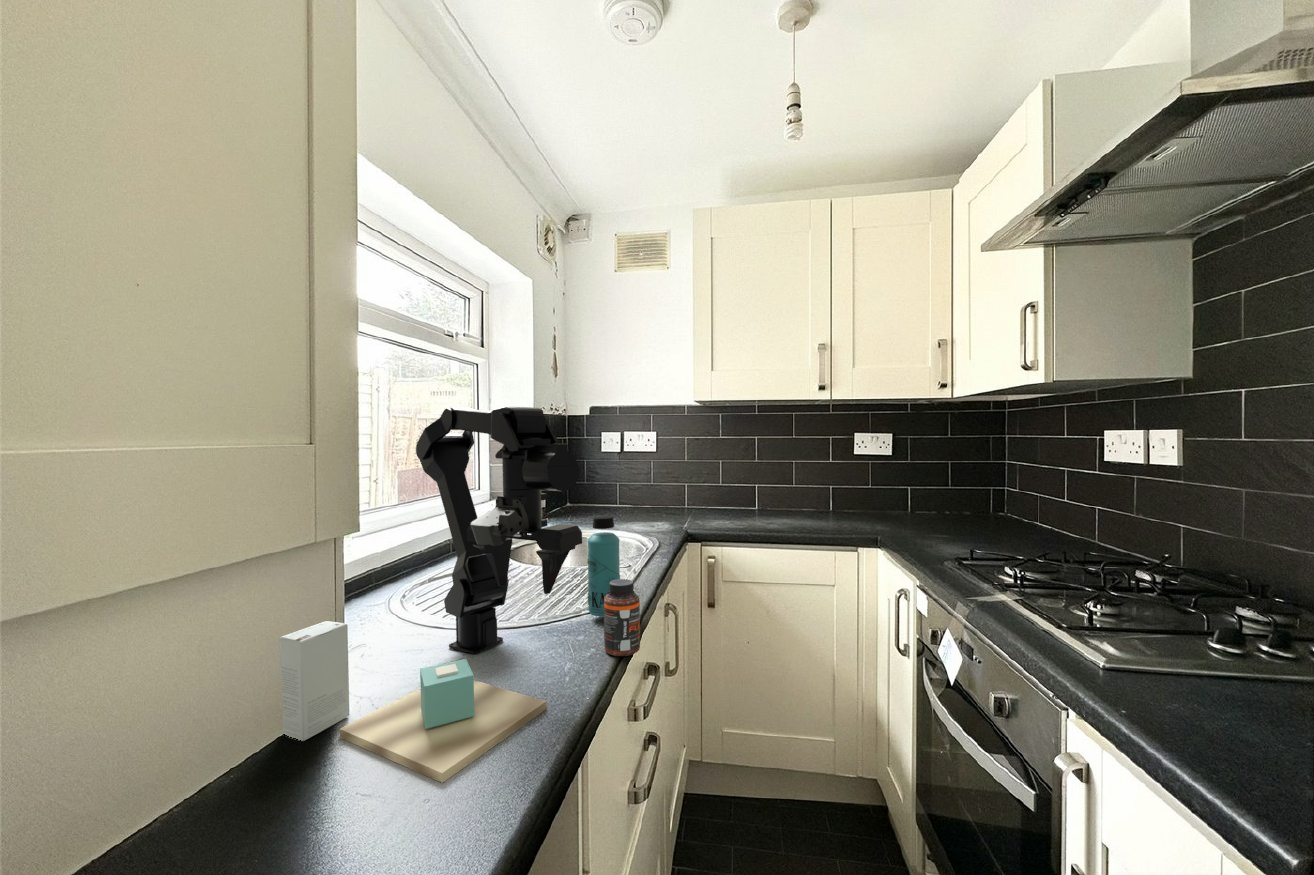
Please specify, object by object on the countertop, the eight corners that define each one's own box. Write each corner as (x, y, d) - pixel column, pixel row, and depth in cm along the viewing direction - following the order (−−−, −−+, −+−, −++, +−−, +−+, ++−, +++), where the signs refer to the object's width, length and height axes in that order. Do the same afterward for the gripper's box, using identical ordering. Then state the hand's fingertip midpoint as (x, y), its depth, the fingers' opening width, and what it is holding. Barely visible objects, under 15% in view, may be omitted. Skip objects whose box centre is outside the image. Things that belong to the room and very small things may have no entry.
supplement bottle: (635, 659, 81) (634, 587, 81) (599, 657, 82) (598, 586, 82) (644, 644, 87) (642, 577, 87) (610, 642, 88) (609, 576, 88)
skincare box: (327, 711, 67) (326, 618, 67) (351, 717, 65) (350, 622, 65) (277, 737, 61) (276, 635, 61) (303, 744, 60) (301, 640, 60)
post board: (339, 737, 61) (339, 699, 61) (451, 680, 75) (450, 649, 75) (442, 783, 52) (441, 738, 52) (546, 709, 66) (545, 674, 66)
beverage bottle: (603, 611, 104) (601, 512, 104) (628, 617, 100) (626, 515, 100) (580, 620, 99) (578, 517, 99) (606, 627, 95) (604, 519, 95)
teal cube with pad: (474, 716, 63) (473, 672, 63) (425, 729, 60) (424, 683, 60) (466, 696, 67) (466, 656, 67) (421, 708, 65) (420, 666, 65)
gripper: (436, 491, 76) (438, 596, 76) (532, 495, 67) (534, 614, 67) (493, 485, 86) (495, 578, 86) (583, 488, 77) (585, 591, 77)
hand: (524, 589), depth 79 cm, fingers open, 9 cm apart
